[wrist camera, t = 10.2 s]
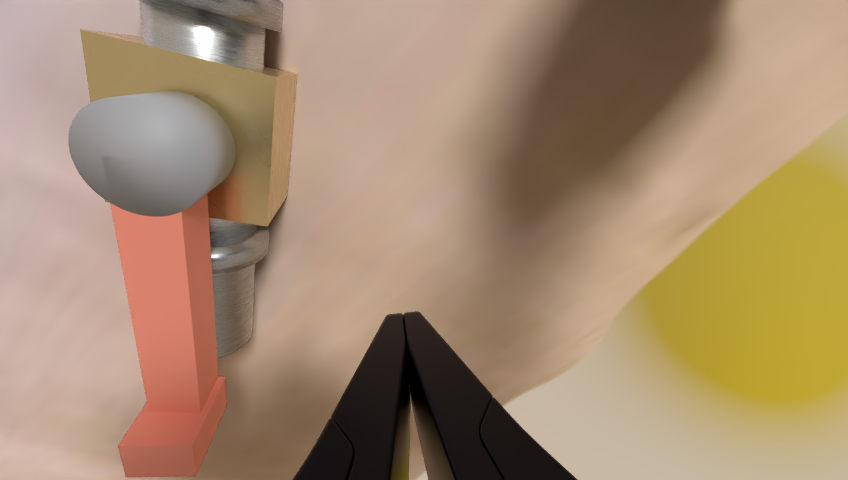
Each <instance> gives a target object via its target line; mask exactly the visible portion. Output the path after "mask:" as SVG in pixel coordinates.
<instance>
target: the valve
mask: <svg viewBox="0 0 848 480" xmlns="http://www.w3.org/2000/svg"><path fill="white" fill-rule="evenodd" d="M139 2H140V14H141V26H142V37H139V36H131V35H122V34H114V33H106V32H97V31H89V30H81V29H80V31H81V38H82V45H83V52H84V59H85V66H86V73H87V79H88V86H89V93H90V100H91V103H92V102H94V101H96V100H100V99H103V98H110V97H117V96H125V95H133V94H141V93H149V92H157V91H178V92H182V93H186V94H189V95H192V96H194V97H196V98H198V99H200V100H202V101H203V102H205V103H207V104H208V105H209V106H210V107H212V108H213V109H214V110H215V111H216V112H217V113H218V114H219V115H220V116H221V117H222V118H223V120H224V121H225V123H226V124H227V126H228V127H229V129H230V131H231V133H232V136H233V139H234V143H235V149H236V158H235V163H234V166H233V169H232V171H231V172H230V174H229V175H228V176H227V178H226V179H225V180H224V181H222V182H221V183H220V184H219V185H217V186H216V187H215V188H213V189H212V190H211V191H210V192H208V193H207V197H208V213H209V229H210V246H211V262H212V278H213V294H214V311H215V327H216V343H217V358H219V357H222V356H225V355H228V354H230V353H232V352H234V351H236V350H238V349H239V348H241V347H242V346H243V345H244V344H245V343H246V342H247V341H248V340H249V338H250V336H251V334H252V321H253V298H254V276H255V264H256V263H257V262H259V261H260V260H262V259H263V258H264V257H265V255H266V254H267V252H268V247H269V231H270V230H269V226H268V225H269V223H270V222H271V220H272V219H273V217H274V215H275V214H276V212H277V211H278V209H279V208H280V206H281V205H282V203H283V202H284V200H285V199H286V197H287V195H288V182H289V170H290V158H291V145H292V133H293V121H294V108H295V96H296V84H297V74H294V73H290V72H286V71H282V70H278V69H274V68H270V67H266V66H264V52H265V30H266V29H269V30H273V31H277V32H282V20H283V2H281V1H280V0H139ZM105 202H108V201H106V200H105Z"/></svg>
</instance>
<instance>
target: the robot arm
mask: <svg viewBox="0 0 848 480" xmlns="http://www.w3.org/2000/svg"><path fill="white" fill-rule="evenodd" d="M409 385H410V386H409ZM410 395H411V401H410ZM411 402H412V407H413V412H414V417H415V421H416V426H417V430H418V435H419V439H420V444H421V448H422V453H423V457H424V462H425V466H426V471H427V475H428V480H577V479H576V478H575V477H574V476H573V475H572V474H571V473H570V472H568V471H567V470H566V469H565V468H564V467H563V466H562V465H561V464H560V463H559V462H558V461H557V460H555V459H554V458H553V457H552V456H551V455H550V454H549V453H548V452H547V451H546V450H544V449H543V448H542V447H541V446H540V445H539V444H538V443H537V442H536V441H535V440H534V439H533V438H532V437H531V436H530V435H529V434H528V433H527V432H526V431H525V430H523V429H522V427H521V426H520V425H519V424H518V423H517V422H516V421H515V420H514V419H513V418H512V417H511V416H510V414H508V412H507V411H506V410H505V409H504V408H503V407H502V406H501V404H500V403H499V402H498V401H497V400H496V399H495V398H493V396H492V394H491V393H490V392H489V391H488V390H487V389H486V387H485V386H484V385H483V384H482V383H481V382H480V381H479V379H478V378H477V377H476V376H475V375H474V374H473V373H472V371H471V370H470V369H469V368H468V367H467V366H466V364H465V363H464V362H463V361H462V360H461V359H460V358H459V356H458V355H457V354H456V353H455V352H454V351H453V350H452V348H451V347H450V346H449V345H448V344H447V343H446V342H445V340H444V339H443V338H442V337H441V336H440V335H439V334H438V332H437V331H436V330H435V329H434V328H433V327H432V326H431V324H430V323H429V322H428V321H427V320H426V319H425V318H424V316H423V315H422V314H421V313H420V312H407V313H404V315H403V314H401V313H397V314H389V315H387V316H386V317H385V319H384V321H383V323H382V324H381V326H380V328H379V330H378V332H377V334H376V335H375V337H374V339H373V341H372V343H371V344H370V346H369V348H368V350H367V352H366V354H365V355H364V357H363V359H362V361H361V363H360V365H359V366H358V368H357V370H356V372H355V374H354V375H353V377H352V379H351V381H350V383H349V385H348V386H347V388H346V390H345V392H344V394H343V395H342V397H341V399H340V401H339V403H338V405H337V406H336V408H335V410H334V412H333V414H332V415H331V419H329V421H328V422H327V424H326V426H325V428H324V430H323V432H322V433H321V435H320V437H319V439H318V440H317V442H316V444H315V445H314V447H313V449H312V450H311V452H310V454H309V456H308V457H307V459H306V460H305V462H304V463H303V465H302V466H301V468H300V469H299V471H298V472H297V474H296V475H295V477H294V478H293V480H409V448H410V413H411Z"/></svg>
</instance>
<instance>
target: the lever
mask: <svg viewBox="0 0 848 480" xmlns="http://www.w3.org/2000/svg"><path fill="white" fill-rule="evenodd" d="M69 149H70V153H71V157H72V160H73V162H74V164H75V167H76V168H77V170H78V172H79V173H80V175H81V176H82V178H83V179H84V180H85V182H86V183H87V184H88V185H89V186H90V187H91V188H92V189H93V190H94V191H95V192H96V193H97V194H98V195H100V196H101V197H102V198H104V199H105V200H106V201H108V202H110V204H111V209H112V215H113V220H114V226H115V231H116V236H117V242H118V247H119V253H120V258H121V263H122V269H123V274H124V280H125V285H126V291H127V296H128V301H129V307H130V312H131V318H132V323H133V328H134V334H135V339H136V345H137V350H138V356H139V361H140V366H141V372H142V377H143V383H144V388H145V393H146V399H147V403H146V404H145V406H144V407H143V409H142V410H141V412H140V413H139V415H138V416H137V418H136V419H135V421H134V422H133V424H132V425H131V427H130V428H129V430H128V431H127V433H126V434H125V436H124V437H123V439H122V440H121V442H120V443H119V445H118V448H119V452H120V455H121V459H122V463H123V467H124V471H125V475H126V477H181V476H196V475H197V473H198V471H199V468H200V466H201V464H202V461H203V459H204V457H205V454H206V452H207V450H208V448H209V445H210V443H211V441H212V438H213V436H214V434H215V431H216V429H217V427H218V424H219V422H220V420H221V417H222V415H223V413H224V410H225V408H226V406H227V402H226V382H225V377H219V376H218V360H217V343H216V327H215V311H214V294H213V278H212V262H211V246H210V229H209V213H208V197H207V193H208V192H210V191H211V190H212V189H213V188H215V187H216V186H217V185H219V184H220V183H221V182H222V181H224V180H225V179H226V178H227V176H228V175H229V174H230V172H231V171H232V169H233V166H234V163H235V158H236V149H235V143H234V139H233V136H232V133H231V131H230V129H229V127H228V126H227V124H226V123H225V121H224V120H223V118H222V117H221V116H220V115H219V114H218V113H217V112H216V111H215V110H214V109H213V108H212V107H210V106H209V105H208V104H207V103H205V102H203V101H202V100H200V99H198V98H196V97H194V96H192V95H189V94H186V93H182V92H178V91H157V92H149V93H141V94H133V95H125V96H117V97H110V98H103V99H100V100H96V101H94V102H92V103H90V104H88V105H87V106H85V107H84V108H82V109H81V110H80V111H79V113H78V114H77V115H76V116H75V118H74V120H73V121H72V124H71V127H70V131H69Z"/></svg>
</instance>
